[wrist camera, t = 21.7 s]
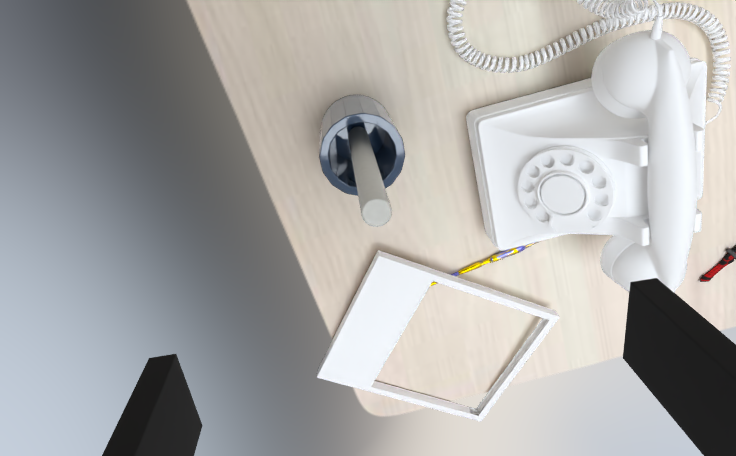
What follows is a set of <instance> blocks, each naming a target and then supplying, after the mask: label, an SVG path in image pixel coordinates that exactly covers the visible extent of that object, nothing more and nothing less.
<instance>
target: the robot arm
mask: <svg viewBox="0 0 736 456" xmlns="http://www.w3.org/2000/svg"><path fill="white" fill-rule="evenodd" d="M623 359H624V360H625V361H626V362H627V363H628V364H629V366H630V367H631V368H632V369H633V371H634V372H635V373H636V374H637V375H638V377H639V378H640V379H641V380H642V381H643V383H644V384H645V385H646V386H647V388H648V389H649V390H650V391H651V392H652V394H653V395H654V396H655V397H656V398H657V399H658V401H659V402H660V403H661V404H662V406H663V407H664V408H665V409H666V410H667V412H668V413H669V414H670V415H671V416H672V418H673V419H674V420H675V421H676V422H677V424H678V425H679V426H680V427H681V428H682V430H683V431H684V432H685V433H686V435H687V436H688V437H689V438H690V439H691V441H692V442H693V443H694V444H695V445H696V447H697V448H698V449H699V450H700V451H701V453H702V454H703V455H704V456H736V345H735V344H734V343H733V342H732V341H731V340H730V339H728V338H727V337H726V336H725V335H724V334H722V333H721V332H720V331H719V330H718V329H717V328H715V327H714V326H713V325H712V324H711V323H709V322H708V321H707V320H706V319H705V318H703V317H702V316H701V315H700V314H699V313H698V312H696V311H695V310H694V309H693V308H692V307H690V306H689V305H688V304H687V303H686V302H685V301H683V300H682V299H681V298H680V297H679V296H677V295H676V294H675V293H674V292H673V291H671V290H670V289H669V288H668V287H667V286H666V285H664V284H663V283H662V282H661V281H660V280H658V279H657V278H653V279H647V280H640V281H634V282H630V292H629V302H628V312H627V322H626V332H625V342H624V353H623ZM201 428H202V424H201V421H200V418H199V415H198V412H197V410H196V407H195V404H194V401H193V399H192V396H191V393H190V390H189V388H188V385H187V382H186V380H185V377H184V374H183V372H182V369H181V366H180V363H179V361H178V358H177V355H176V354H172V355H166V356H160V357H154V358H149V360H148V362H147V364H146V366H145V368H144V370H143V372H142V374H141V376H140V378H139V380H138V382H137V384H136V387H135V389H134V391H133V393H132V395H131V397H130V399H129V401H128V403H127V405H126V407H125V409H124V411H123V414H122V415H121V418H120V420H119V422H118V424H117V426H116V428H115V430H114V432H113V434H112V436H111V438H110V440H109V442H108V444H107V447H106V449H105V451H104V453H103V455H102V456H194V453H195V450H196V446H197V442H198V439H199V435H200V432H201Z"/></svg>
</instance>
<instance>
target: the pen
mask: <svg viewBox="0 0 736 456" xmlns="http://www.w3.org/2000/svg"><path fill="white" fill-rule="evenodd" d="M538 242H539V241H538ZM536 243H537V242H534V243H531V244H527V245H523V246H519V247H515V248H511V249H507V250H505V251H504V250H503V252H502V251H501V253H500V252H499V253H497V254H495V255H493V256H491V258H490V257H489V258H488V259H487V260H484V261H482V262H477V263H475V264H473V265H471V266H468V267H466V268H464V269H462V270H460V271H458V272H456V273H453V274H451V275H453V276H457V275H460V274H463V273H466V272H469V271H472V270H474V269H477V268H479V267H481V266H482V265H485V264H487V263H491V262H493V261H494V262H495V261H498V260H499V259H500V260H501V259H502V258H505V257H506V258H507V257H508V256H510V255H511V256H512V255H514V254H517V253H519V252H521V251H523V250H524V249H525V248H527V247H529V246H531V245H534V244H536ZM435 284H437V282H433V283H431V285H430V286H432V285H435Z"/></svg>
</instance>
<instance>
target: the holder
mask: <svg viewBox="0 0 736 456" xmlns="http://www.w3.org/2000/svg"><path fill="white" fill-rule="evenodd" d="M354 127H362V128H364V129H365V130H366V131H367V133H368V137H369V140H370V143H371V146H372V149H373V152H374V155H375V158H376V162H377V165H378V168H379V171H380V174H381V177H382V180H383V183H384V187H385V188H387V187H388V186H390V185H391V184H392V183H393V182H394V181H395V179H396V178H397V177H398V175H399V174H400V173H401V170H402V167H403V163H404V159H405V151H404V144H403V139H402V137H401V135H400V134H399V132H398V130H397V128H396V126H395V125H394V123H393V121H392V119H391V118H390V116H389V114H388V113H387V111H386V109H385V108H384V107H383V106H382V105H381V104H380V103H379V102H378V101H376V100H374V99H373V98H370V97H368V96H364V95H349V96H345V97H343V98H340V99H339V100H337V101H336V102H334V103H333V104H332V105H331V106H330V107H329V108H328V109H327V111H326V113H325V114H324V116H323V119H322V123H321V129H320V148H319V158H320V162H321V167H322V171H323V173H324V174H325V176H326V177H327V179H328V180H329V181H330V183H331V184H332V185H333V186H335V187H336V188H338V189H339V190H341V191H343V192H344V193H347V194H352V195H357V196H358V191H357V185H356V179H355V174H354V168H353V162H352V156H351V151H350V145H349V139H348V134H349V132H350V130H351V129H352V128H354Z"/></svg>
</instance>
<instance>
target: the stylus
mask: <svg viewBox="0 0 736 456" xmlns="http://www.w3.org/2000/svg"><path fill="white" fill-rule="evenodd" d="M348 139H349V145H350V151H351V156H352V162H353V168H354V174H355V179H356V185H357V191H358V197H359V203H360V208H361V214H362V218H363V220H364V221H365V222H366V223H367V224H368V225H370V226H375V227H378V226H382V225H384V224H386V223H387V222H388V221H389V220H390V218H391V215H392V209H391V205H390V202H389V199H388V196H387V193H386V190H385V187H384V183H383V180H382V177H381V174H380V171H379V168H378V165H377V162H376V158H375V155H374V152H373V149H372V146H371V143H370V140H369V137H368V133H367V131H366V130H365V129H364V128H362V127H354V128H352V129H351V130H350V132H349V134H348Z"/></svg>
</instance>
